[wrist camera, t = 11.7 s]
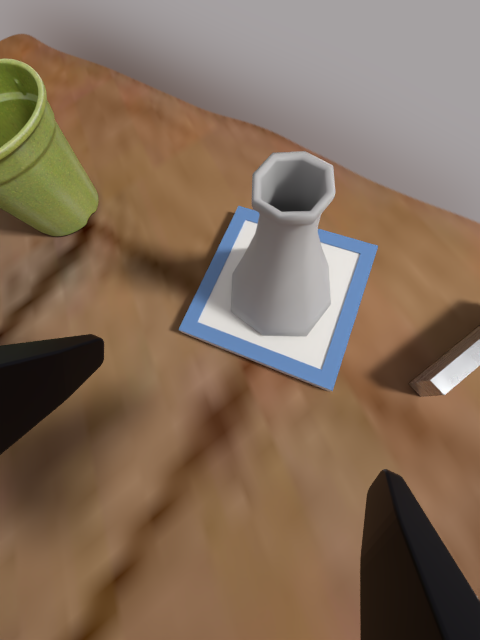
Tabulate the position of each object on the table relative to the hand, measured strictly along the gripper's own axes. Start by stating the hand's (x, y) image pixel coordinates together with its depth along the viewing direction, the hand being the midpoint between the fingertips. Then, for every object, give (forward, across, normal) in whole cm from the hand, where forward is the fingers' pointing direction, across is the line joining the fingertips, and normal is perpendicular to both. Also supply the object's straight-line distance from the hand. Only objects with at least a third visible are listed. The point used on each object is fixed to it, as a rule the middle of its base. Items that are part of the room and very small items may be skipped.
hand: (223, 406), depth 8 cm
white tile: (+14, +1, +1) cm, 14 cm away
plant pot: (+14, +22, 0) cm, 26 cm away
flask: (+13, +1, +1) cm, 13 cm away
